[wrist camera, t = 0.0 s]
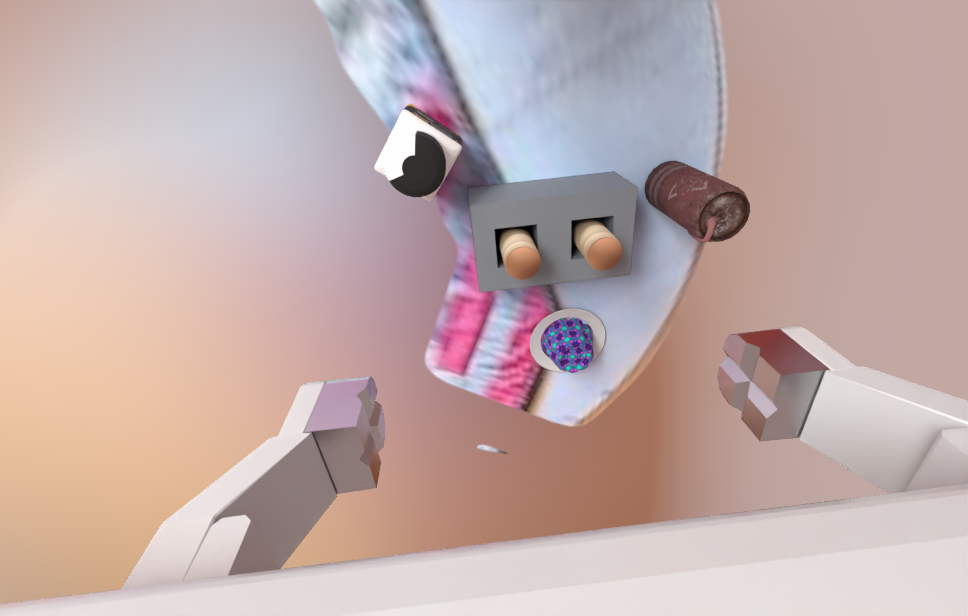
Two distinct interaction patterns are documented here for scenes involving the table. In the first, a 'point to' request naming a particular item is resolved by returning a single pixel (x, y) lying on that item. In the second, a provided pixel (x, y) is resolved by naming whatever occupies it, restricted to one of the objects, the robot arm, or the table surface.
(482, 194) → the block
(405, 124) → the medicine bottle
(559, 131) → the table surface
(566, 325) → the pudding
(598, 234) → the peg
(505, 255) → the peg
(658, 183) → the can
